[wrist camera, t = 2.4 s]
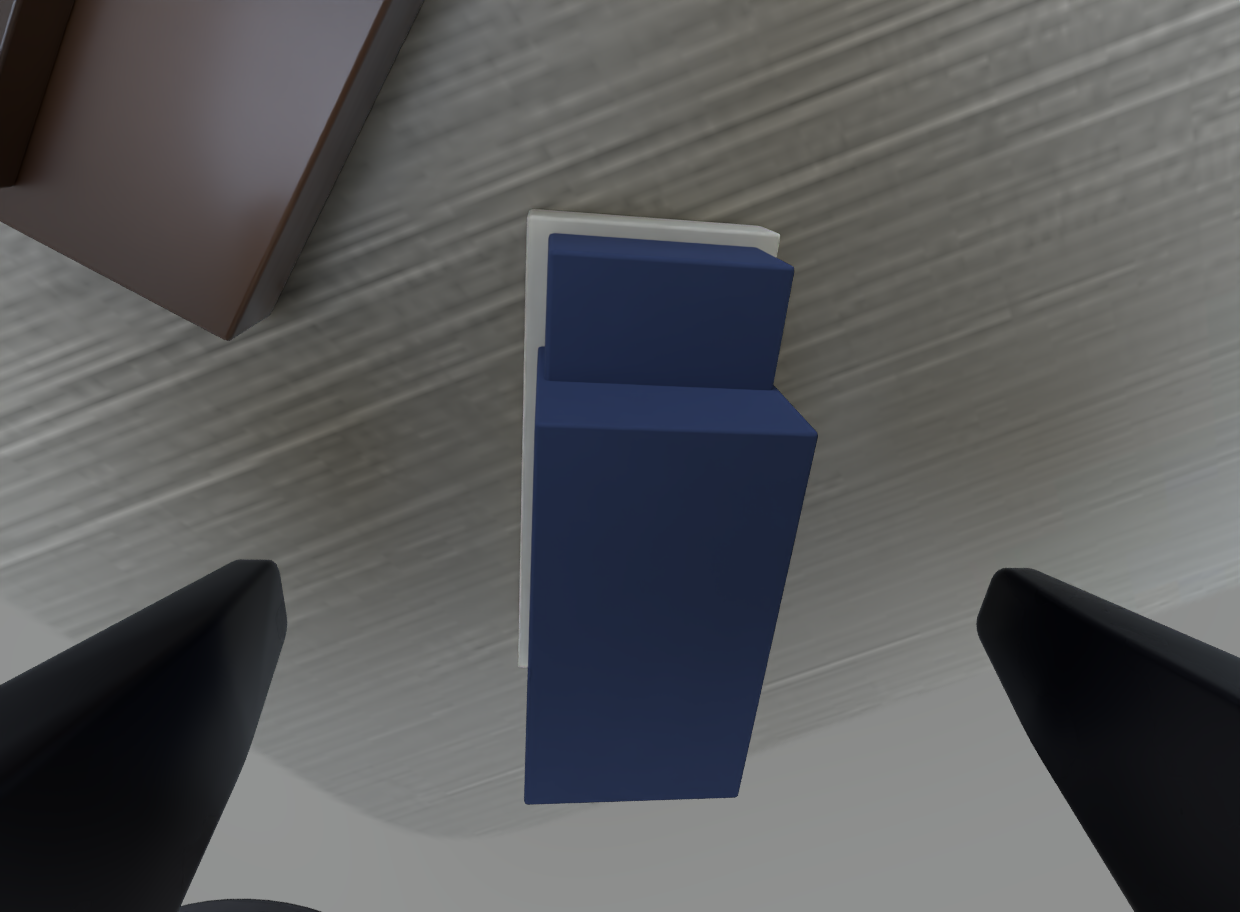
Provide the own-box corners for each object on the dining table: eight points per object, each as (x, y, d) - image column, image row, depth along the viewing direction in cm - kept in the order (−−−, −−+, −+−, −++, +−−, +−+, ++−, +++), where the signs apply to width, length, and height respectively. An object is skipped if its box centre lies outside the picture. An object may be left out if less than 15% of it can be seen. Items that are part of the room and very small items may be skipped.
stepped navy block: (696, 632, 14) (749, 807, 10) (519, 633, 13) (510, 816, 10) (761, 226, 10) (876, 271, 7) (528, 208, 10) (517, 246, 6)
